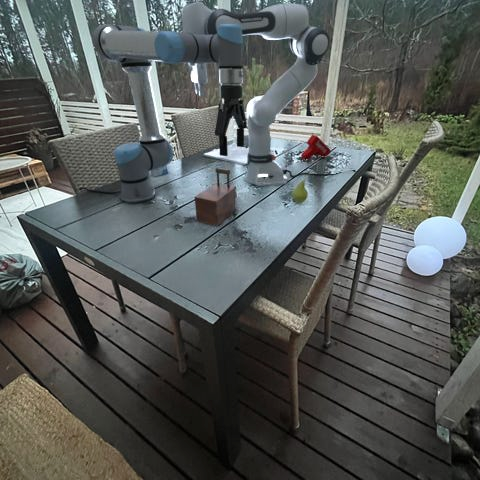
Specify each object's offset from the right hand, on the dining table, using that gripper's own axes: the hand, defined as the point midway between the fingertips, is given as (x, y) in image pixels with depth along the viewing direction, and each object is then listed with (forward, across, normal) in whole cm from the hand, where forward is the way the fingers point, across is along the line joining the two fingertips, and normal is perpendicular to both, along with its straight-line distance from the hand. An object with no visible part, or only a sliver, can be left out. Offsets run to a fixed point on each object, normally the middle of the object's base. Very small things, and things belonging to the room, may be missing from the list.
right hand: (200, 95), depth 115 cm
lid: (+32, -31, +2) cm, 45 cm away
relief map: (+42, +51, -29) cm, 72 cm away
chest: (+41, -32, +2) cm, 52 cm away
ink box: (+41, +28, +23) cm, 55 cm away
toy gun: (+42, +27, -76) cm, 91 cm away
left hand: (+16, -31, -6) cm, 35 cm away
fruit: (+42, -30, -36) cm, 63 cm away
